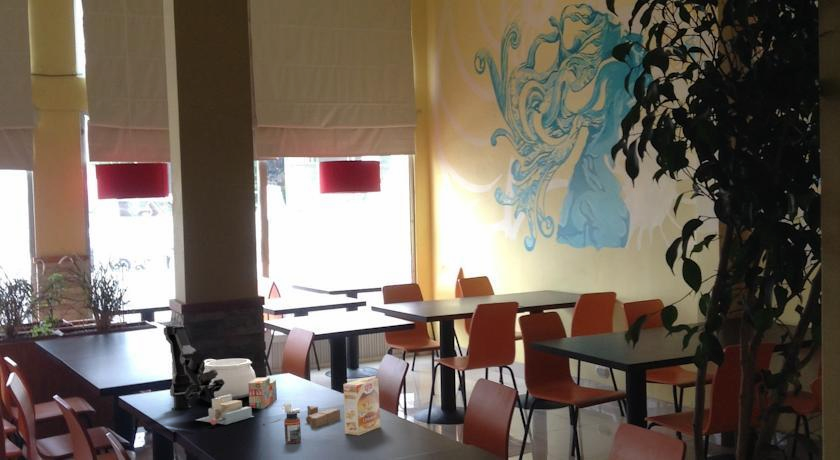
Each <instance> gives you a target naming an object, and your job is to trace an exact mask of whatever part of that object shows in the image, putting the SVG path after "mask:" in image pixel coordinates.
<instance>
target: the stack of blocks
mask: <svg viewBox="0 0 840 460" xmlns="http://www.w3.org/2000/svg"><path fill="white" fill-rule="evenodd" d="M248 384H249V396H248V402H249V406H248V407H251V409H252V408H254V409H259V410H264V409H265V408H266V407H268V406H269V405H271V404H272V403H273V402H275V401H276V400H277V399H278V397H277V396H278V395H277V393H278V392H277V380H276V379H270V377H269V376H268V377H267V376H266V377H265V376H264V377H256V379H254V380H253V381H251V382H249V383H248Z"/></svg>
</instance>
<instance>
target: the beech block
mask: <svg viewBox="0 0 840 460" xmlns="http://www.w3.org/2000/svg"><path fill="white" fill-rule="evenodd" d="M219 408H220V418H222V413H225V412H229V411H232V410H236V409H240V408H243V400H238V399H233V400H232V401H230V402H226V403H222V404H219Z"/></svg>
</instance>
